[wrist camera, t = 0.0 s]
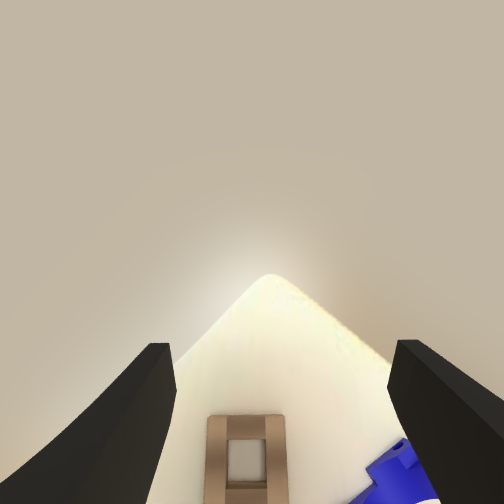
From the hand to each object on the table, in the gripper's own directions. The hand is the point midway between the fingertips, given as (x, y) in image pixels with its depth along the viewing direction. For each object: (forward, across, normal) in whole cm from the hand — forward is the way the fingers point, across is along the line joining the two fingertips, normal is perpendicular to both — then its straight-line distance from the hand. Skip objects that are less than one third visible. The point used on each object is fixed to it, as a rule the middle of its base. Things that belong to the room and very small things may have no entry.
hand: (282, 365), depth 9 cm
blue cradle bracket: (+13, -13, +32) cm, 37 cm away
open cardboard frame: (+15, +2, +29) cm, 33 cm away
